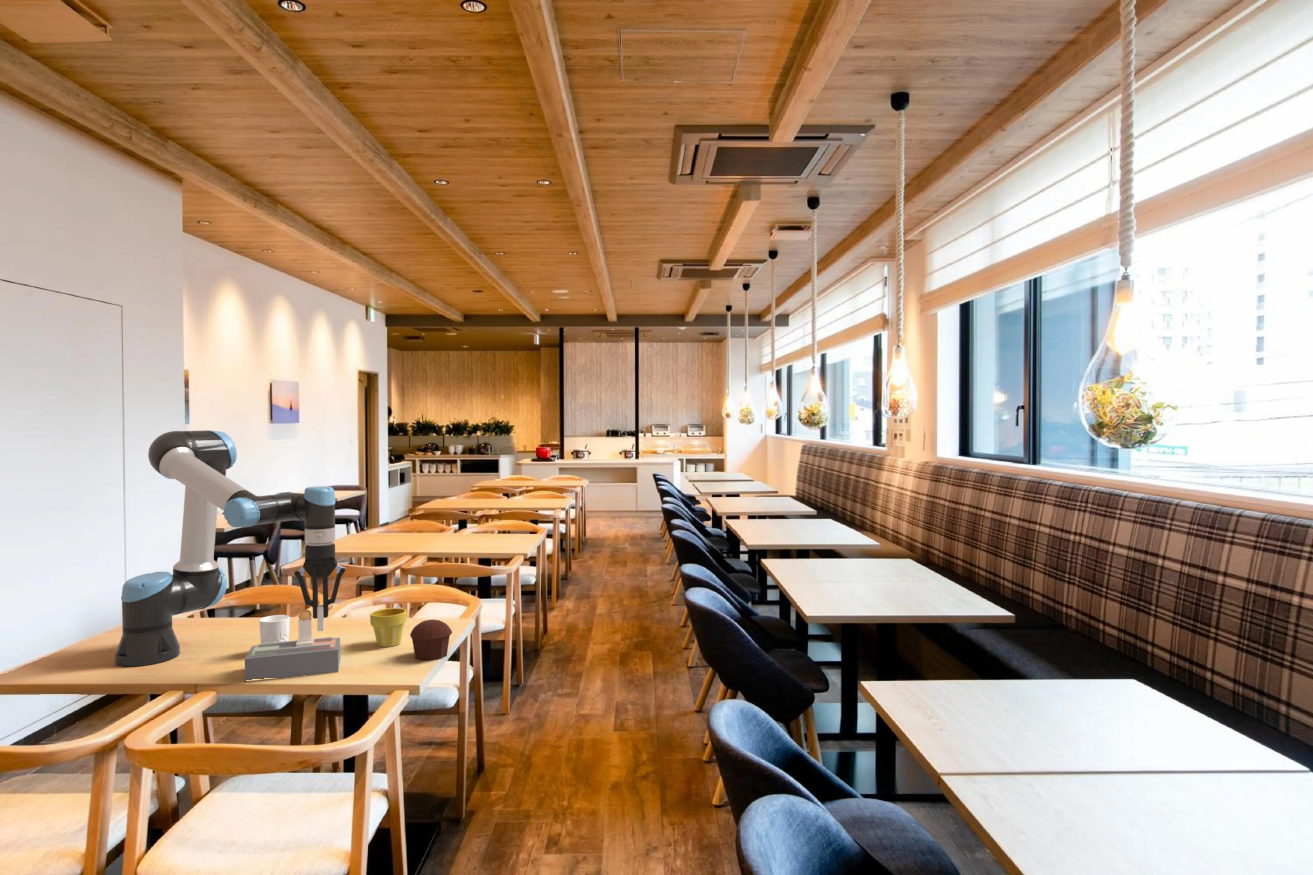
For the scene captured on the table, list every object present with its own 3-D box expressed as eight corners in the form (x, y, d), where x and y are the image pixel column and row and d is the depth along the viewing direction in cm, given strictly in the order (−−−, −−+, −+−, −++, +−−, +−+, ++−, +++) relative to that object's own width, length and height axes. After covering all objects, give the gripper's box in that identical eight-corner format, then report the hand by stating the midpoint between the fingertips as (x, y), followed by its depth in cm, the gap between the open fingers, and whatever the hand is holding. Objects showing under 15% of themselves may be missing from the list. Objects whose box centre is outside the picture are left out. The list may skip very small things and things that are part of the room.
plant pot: (364, 644, 222) (363, 611, 221) (396, 636, 229) (396, 605, 229) (380, 651, 215) (380, 618, 214) (413, 643, 222) (413, 611, 222)
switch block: (252, 667, 200) (252, 642, 200) (340, 658, 208) (340, 633, 208) (244, 682, 189) (244, 655, 189) (338, 671, 197) (337, 645, 197)
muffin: (401, 659, 207) (401, 624, 207) (426, 648, 218) (426, 614, 217) (436, 664, 203) (436, 628, 203) (460, 652, 213) (460, 618, 213)
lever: (298, 643, 201) (297, 608, 201) (314, 641, 202) (313, 606, 202) (296, 648, 196) (295, 612, 196) (312, 646, 198) (312, 611, 197)
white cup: (295, 648, 217) (295, 614, 217) (279, 657, 209) (279, 622, 209) (270, 648, 218) (270, 614, 218) (253, 656, 210) (253, 621, 210)
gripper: (292, 547, 194) (292, 635, 195) (345, 544, 199) (346, 630, 199) (294, 542, 201) (295, 628, 202) (346, 540, 206) (347, 623, 206)
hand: (320, 629), depth 201 cm, fingers closed
